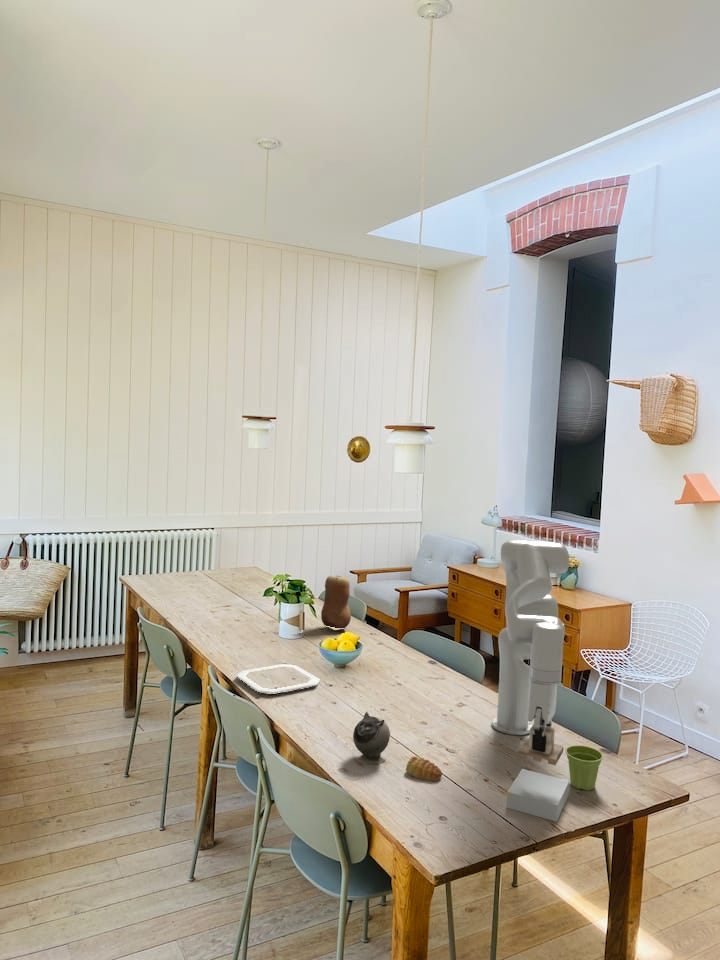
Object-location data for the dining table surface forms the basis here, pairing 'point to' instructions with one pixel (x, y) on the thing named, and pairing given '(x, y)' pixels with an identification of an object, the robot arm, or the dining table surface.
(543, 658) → the robot arm
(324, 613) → the butternut squash
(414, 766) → the pastry
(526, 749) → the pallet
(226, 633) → the dining table surface
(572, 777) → the plant pot
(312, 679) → the white square frame
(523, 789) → the dock
